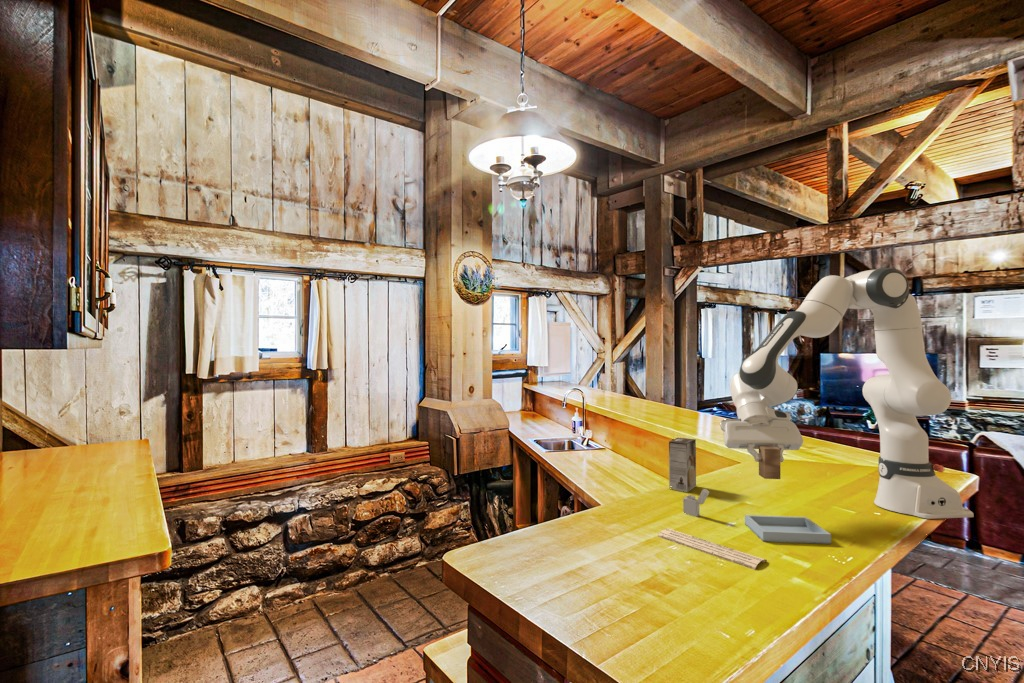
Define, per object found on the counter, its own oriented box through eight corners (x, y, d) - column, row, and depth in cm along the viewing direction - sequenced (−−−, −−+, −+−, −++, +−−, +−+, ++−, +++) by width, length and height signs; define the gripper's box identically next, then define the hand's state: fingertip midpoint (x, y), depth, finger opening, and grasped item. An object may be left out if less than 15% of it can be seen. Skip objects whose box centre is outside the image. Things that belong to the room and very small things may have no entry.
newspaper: (657, 539, 120) (657, 532, 120) (672, 532, 124) (672, 525, 124) (755, 573, 102) (755, 564, 102) (768, 563, 106) (768, 555, 106)
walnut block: (774, 475, 132) (773, 446, 132) (780, 479, 128) (780, 449, 128) (758, 474, 133) (758, 445, 133) (764, 478, 129) (764, 448, 129)
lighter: (682, 513, 137) (682, 484, 137) (686, 511, 138) (686, 483, 138) (706, 519, 131) (706, 490, 131) (709, 518, 132) (709, 489, 132)
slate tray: (806, 526, 127) (806, 517, 127) (831, 544, 115) (830, 534, 115) (744, 523, 128) (744, 514, 128) (763, 541, 117) (763, 531, 117)
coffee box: (677, 483, 167) (677, 436, 167) (696, 486, 163) (696, 439, 163) (668, 489, 159) (668, 441, 159) (688, 492, 155) (688, 443, 156)
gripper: (720, 412, 139) (732, 453, 129) (795, 413, 137) (813, 455, 127) (716, 425, 143) (727, 465, 134) (788, 426, 141) (804, 468, 131)
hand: (769, 460), depth 130 cm, fingers closed on walnut block, 4 cm apart
